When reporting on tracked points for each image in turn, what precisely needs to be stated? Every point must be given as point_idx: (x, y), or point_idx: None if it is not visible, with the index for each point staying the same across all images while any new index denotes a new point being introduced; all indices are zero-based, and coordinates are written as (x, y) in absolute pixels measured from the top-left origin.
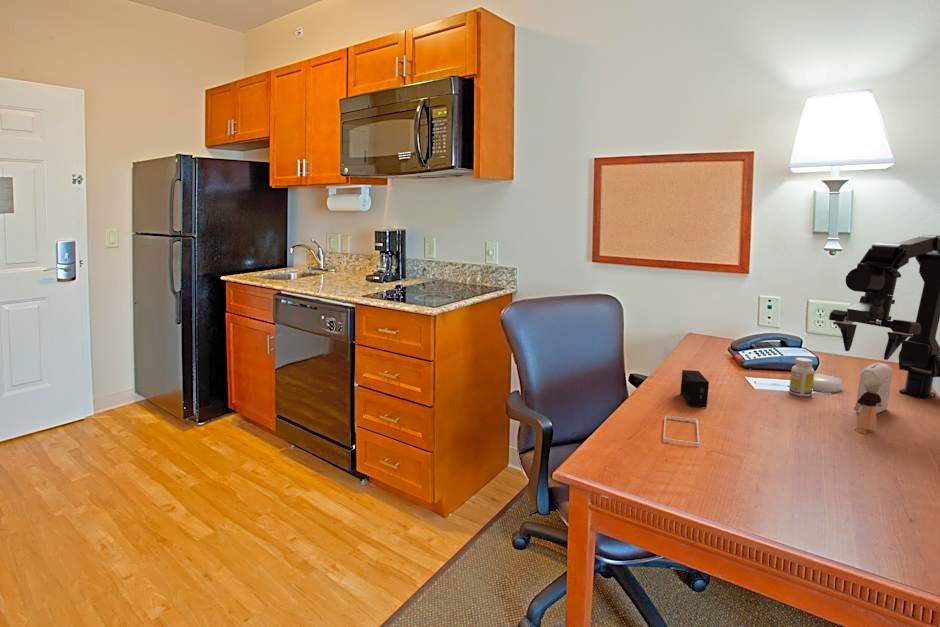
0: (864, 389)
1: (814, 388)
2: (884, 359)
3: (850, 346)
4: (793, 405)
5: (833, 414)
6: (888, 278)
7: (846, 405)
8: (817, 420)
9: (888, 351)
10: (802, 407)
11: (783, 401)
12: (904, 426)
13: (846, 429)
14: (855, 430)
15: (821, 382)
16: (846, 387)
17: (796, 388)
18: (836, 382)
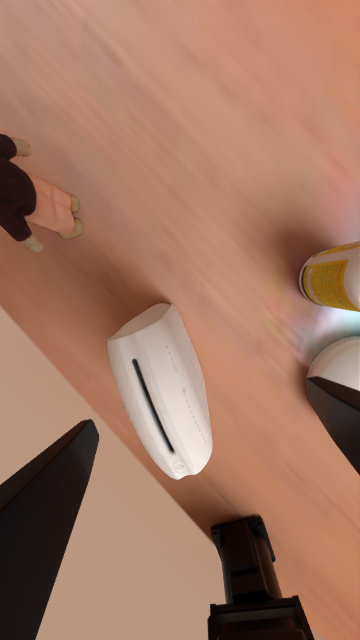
0: (146, 311)
1: (339, 342)
2: (89, 419)
3: (327, 427)
4: (250, 178)
5: (171, 234)
6: None
7: (217, 323)
8: (142, 154)
9: (35, 460)
10: (231, 192)
11: (285, 175)
12: (81, 333)
13: (81, 180)
14: (70, 194)
15: (342, 359)
16: (328, 439)
17: (330, 249)
18: None
